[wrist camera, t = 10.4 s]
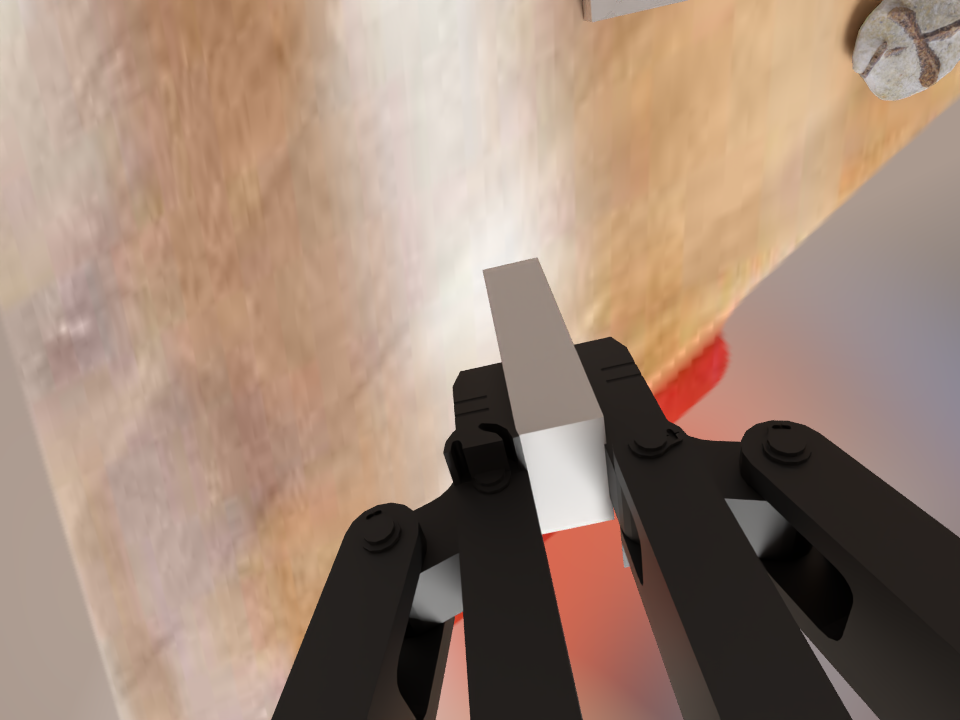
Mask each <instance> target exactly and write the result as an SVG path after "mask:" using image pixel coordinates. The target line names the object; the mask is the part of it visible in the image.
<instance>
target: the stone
mask: <svg viewBox="0 0 960 720" xmlns="http://www.w3.org/2000/svg"><path fill="white" fill-rule="evenodd" d="M852 59H853V60H852V63H853V70H854V72H856V73H859V74H860V77H862V78H863V79H864V81H865V82H866V83H867V85H868V87H869V89H870V90H871V91H872V92H873V93H874V95H876V96H877V97H878V98H879V99H881V100H899V99H903V98H906V97H909V96H911V95H914V94H916V93H918V92H921V91H924V90H926V89H927V88H929V87H931V86H932V85H934V84H935V83H936V82H938V81H939V80H940V79H941V78H943V77H944V76H945V75H946V74H948V73H949V72H950V71H951V70H952V69H953V68H954V66H955V65H956V64H957V62H958V61H959V60H960V0H883V1H882V2H881V3H880V4H879V5H878V6H877V7H876V8H875V9H874V10H873V11H872V12H871V13H870V14H869V16H868V17H867V18H866V20H865V22H864V23H863V25H862V26H861V28H860V29H859V31H858V36H857V39H856V43H855V47H854V51H853V56H852Z"/></svg>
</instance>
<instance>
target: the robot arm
mask: <svg viewBox="0 0 960 720" xmlns="http://www.w3.org/2000/svg"><path fill="white" fill-rule="evenodd" d="M483 274H484V279H485V284H486V289H487V293H488V298H489V303H490V308H491V312H492V317H493V322H494V327H495V332H496V336H497V341H498V346H499V351H500V356H501V360H502V362H501V363H496V364H492V365H487V366H483V367H478V368H474V369H469V370H465V371H460V373H459V375H458V377H457V379H456V381H455V383H454V385H453V399H454V412H455V425H456V430H455V431H454V432H453V433H452V434H451V436H450V437H449V438H448V440H447V441H446V443H445V447H444V452H443V454H444V456H445V459H446V462H447V465H448V468H449V471H450V474H451V477H452V480H453V483H452V485H451V486H450V487H449V489H448V490H447V491H445V492H444V493H443V494H442V495H441V496H440V497H438V498H437V499H435V500H433V501H432V502H430V503H428V504H426V505H424V506H422V507H420V508H418V509H416V510H414V511H413V510H411V509H410V508H408V507H407V506H405V505H403V504H396V503H387V504H382V505H377V506H375V507H373V508H371V509H369V510H367V511H365V512H363V513H362V514H361V515H360V516H359V517H358V518H357V519H356V520H354V521H353V522H352V524H351V526H350V527H349V529H348V531H347V532H346V534H345V536H344V539H343V541H342V544H341V546H340V549H339V551H338V554H337V556H336V559H335V561H334V564H333V566H332V569H331V571H330V574H329V576H328V579H327V581H326V584H325V586H324V589H323V591H322V594H321V596H320V599H319V601H318V604H317V606H316V609H315V611H314V614H313V616H312V619H311V621H310V624H309V626H308V629H307V631H306V634H305V636H304V639H303V641H302V644H301V646H300V649H299V651H298V654H297V656H296V659H295V661H294V664H293V666H292V669H291V671H290V674H289V676H288V679H287V681H286V684H285V686H284V689H283V691H282V694H281V696H280V699H279V701H278V704H277V706H276V709H275V711H274V714H273V717H272V719H271V720H436V714H437V710H438V704H439V699H440V694H441V688H442V683H443V678H444V673H445V667H446V662H447V657H448V651H449V646H450V641H451V635H452V630H453V625H454V619H455V615H457V614H459V613H461V612H463V618H464V633H465V647H466V662H467V676H468V692H469V706H470V720H583V719H582V714H581V710H580V705H579V701H578V696H577V691H576V687H575V683H574V678H573V673H572V669H571V664H570V659H569V656H568V650H567V646H566V641H565V637H564V632H563V628H562V623H561V619H560V614H559V609H558V606H557V600H556V596H555V591H554V587H553V582H552V578H551V573H550V569H549V564H548V559H547V555H546V551H545V546H544V542H543V537H542V534H545V533H550V532H555V531H560V530H565V529H570V528H574V527H579V526H584V525H589V524H594V523H599V522H604V521H609V520H613V519H614V511H613V507H614V510H615V513H616V516H617V518H618V521H619V524H620V530H621V541H622V551H623V561H624V567H631V571H632V574H633V576H634V579H635V582H636V585H637V588H638V591H639V594H640V596H641V599H642V602H643V605H644V607H645V611H646V614H647V616H648V619H649V622H650V625H651V628H652V631H653V633H654V636H655V639H656V642H657V645H658V648H659V650H660V653H661V656H662V659H663V662H664V665H665V668H666V670H667V673H668V676H669V679H670V682H671V685H672V687H673V690H674V693H675V696H676V699H677V702H678V705H679V707H680V710H681V713H682V716H683V719H684V720H852V718H851V716H850V715H849V713H848V711H847V709H846V708H845V706H844V704H843V703H842V701H841V699H840V697H839V696H838V694H837V692H836V690H835V689H834V687H833V685H832V683H831V682H830V680H829V678H828V677H827V675H826V673H825V671H824V670H823V668H822V666H821V664H820V663H819V661H818V659H817V658H816V656H815V654H814V652H813V651H812V649H811V647H810V645H809V644H808V642H807V640H806V639H805V637H804V635H803V633H802V632H801V630H802V631H803V632H804V634H805V635H806V636H807V637H808V638H809V639H810V640H811V641H812V643H813V644H814V645H815V646H816V647H817V648H818V650H819V651H820V652H821V653H822V654H823V655H824V656H825V658H826V659H827V660H828V661H829V662H830V663H831V664H832V665H833V667H834V668H835V669H836V670H837V671H838V672H839V674H841V676H842V677H843V678H844V679H845V680H846V681H847V683H848V684H849V685H850V686H851V687H852V688H853V689H854V691H855V692H856V693H857V694H858V695H859V696H860V697H861V698H862V700H863V701H864V702H865V703H866V704H867V705H868V707H869V708H870V709H871V710H872V711H873V712H874V713H875V714H876V716H877V717H878V718H879V719H880V720H960V538H959V537H958V536H957V535H955V534H954V533H953V532H951V531H950V530H949V529H947V528H946V527H944V526H943V525H942V524H941V523H939V522H938V521H937V520H935V519H934V518H933V517H931V516H930V515H928V514H927V513H926V512H925V511H923V510H922V509H921V508H919V507H918V506H917V505H915V504H914V503H913V502H911V501H910V500H909V499H907V498H906V497H905V496H903V495H902V494H900V493H899V492H898V491H896V490H895V489H894V488H892V487H891V486H890V485H888V484H887V483H886V482H884V481H883V480H882V479H880V478H879V477H878V476H876V475H875V474H874V473H872V472H871V471H869V470H868V469H867V468H865V467H864V466H863V465H862V464H860V463H859V462H858V461H856V460H855V459H854V458H852V457H851V456H850V455H848V454H847V453H845V452H844V451H843V450H841V449H840V448H839V447H838V446H836V445H835V444H833V443H832V442H831V441H829V440H828V439H827V438H825V437H824V436H823V435H821V434H820V433H818V432H816V431H815V430H813V429H811V428H809V427H807V426H806V425H802V424H798V423H794V422H790V421H774V420H772V421H767V422H763V423H759V424H756V425H754V426H753V427H751V428H750V429H748V430H747V431H746V432H745V434H744V436H743V438H742V440H741V442H729V441H710V440H701V439H698V438H694V437H690V436H688V435H687V434H686V433H685V432H684V431H683V430H682V429H681V428H680V427H679V426H677V425H675V424H673V423H671V422H669V421H668V420H667V419H666V417H665V415H664V414H663V412H662V410H661V408H660V406H659V405H658V403H657V401H656V399H655V397H654V396H653V394H652V392H651V390H650V388H649V387H648V385H647V383H646V381H645V379H644V378H643V376H641V372H640V371H639V369H638V367H637V365H636V364H635V362H634V360H633V358H632V356H631V354H630V353H629V351H628V349H627V347H625V346H624V345H622V344H621V343H619V342H618V341H616V340H615V339H613V338H612V337H607V338H603V339H598V340H594V341H589V342H585V343H580V344H576V345H574V344H573V342H572V339H571V337H570V334H569V332H568V330H567V327H566V325H565V322H564V320H563V318H562V315H561V313H560V310H559V308H558V306H557V303H556V301H555V298H554V296H553V294H552V291H551V289H550V286H549V284H548V282H547V279H546V277H545V274H544V272H543V270H542V267H541V265H540V262H539V260H538V258H533V259H529V260H524V261H520V262H516V263H511V264H507V265H502V266H498V267H494V268H489V269H485V270H483ZM800 629H801V630H800Z"/></svg>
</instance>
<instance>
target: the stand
mask: <svg viewBox="0 0 960 720" xmlns="http://www.w3.org/2000/svg"><path fill="white" fill-rule="evenodd" d="M682 1H686V0H583V14H584V20H585V21H589V22H595V21H600V20H604V19H608V18H613V17H617V16H621V15H626V14H630V13H634V12H639V11H643V10H647V9H652V8H656V7H660V6H665V5H669V4H673V3H678V2H682Z"/></svg>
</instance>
